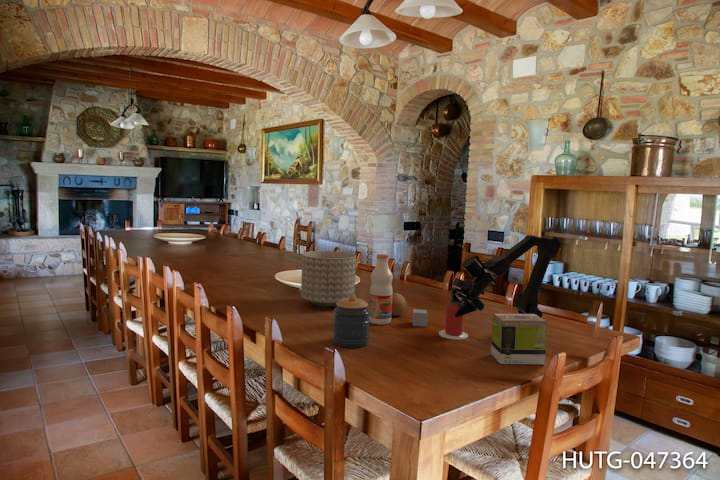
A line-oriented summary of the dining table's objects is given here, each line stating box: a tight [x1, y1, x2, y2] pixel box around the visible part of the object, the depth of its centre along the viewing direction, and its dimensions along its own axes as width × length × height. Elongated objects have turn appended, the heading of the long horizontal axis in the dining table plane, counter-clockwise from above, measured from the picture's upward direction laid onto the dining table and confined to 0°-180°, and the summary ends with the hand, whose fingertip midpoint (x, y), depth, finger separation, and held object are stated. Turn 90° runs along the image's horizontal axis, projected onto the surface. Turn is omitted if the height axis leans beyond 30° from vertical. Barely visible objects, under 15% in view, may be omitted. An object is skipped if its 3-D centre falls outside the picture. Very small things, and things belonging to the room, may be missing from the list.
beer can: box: [444, 301, 465, 336], centre depth 180 cm, size 7×7×12 cm
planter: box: [300, 250, 357, 309], centre depth 220 cm, size 25×25×24 cm
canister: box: [332, 293, 371, 349], centre depth 167 cm, size 13×13×18 cm
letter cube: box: [412, 308, 428, 328], centre depth 194 cm, size 6×6×6 cm
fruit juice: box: [368, 254, 394, 326], centre depth 195 cm, size 9×9×28 cm
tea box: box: [490, 312, 548, 366], centre depth 156 cm, size 15×10×15 cm
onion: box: [391, 292, 408, 317], centre depth 206 cm, size 10×10×10 cm
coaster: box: [438, 329, 469, 341], centre depth 181 cm, size 11×11×1 cm
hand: (451, 314), depth 180 cm, fingers open, 7 cm apart
